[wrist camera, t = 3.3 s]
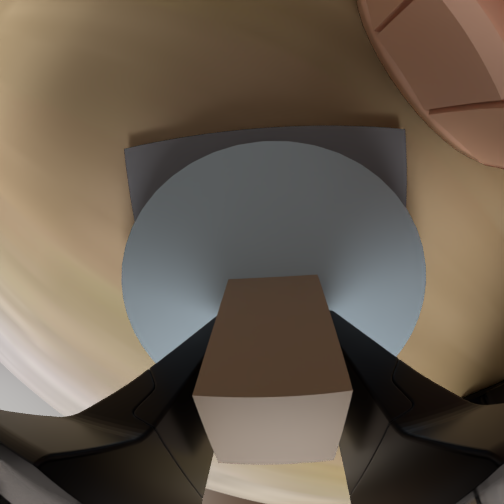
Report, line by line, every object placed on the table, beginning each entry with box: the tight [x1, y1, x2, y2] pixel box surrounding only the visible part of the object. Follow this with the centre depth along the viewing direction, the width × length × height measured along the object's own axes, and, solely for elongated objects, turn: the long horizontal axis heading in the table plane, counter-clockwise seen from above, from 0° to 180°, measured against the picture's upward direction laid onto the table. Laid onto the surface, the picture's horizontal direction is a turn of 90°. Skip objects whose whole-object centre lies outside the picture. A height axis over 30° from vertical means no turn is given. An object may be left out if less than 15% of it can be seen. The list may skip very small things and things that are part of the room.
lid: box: [122, 141, 426, 464], centre depth 8 cm, size 11×11×6 cm
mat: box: [124, 126, 407, 221], centre depth 11 cm, size 12×10×1 cm
